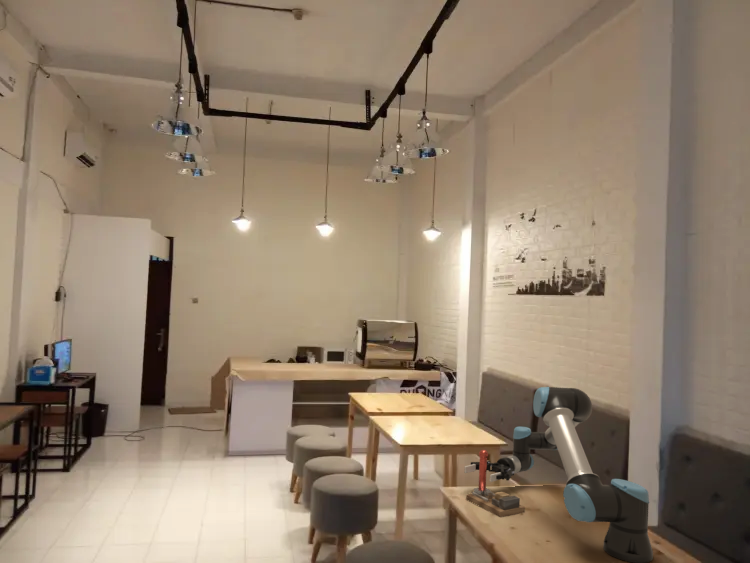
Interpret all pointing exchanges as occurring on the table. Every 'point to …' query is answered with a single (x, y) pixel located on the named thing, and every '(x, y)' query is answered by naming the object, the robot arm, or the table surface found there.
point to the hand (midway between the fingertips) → (477, 474)
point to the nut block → (501, 495)
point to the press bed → (498, 504)
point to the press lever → (483, 476)
